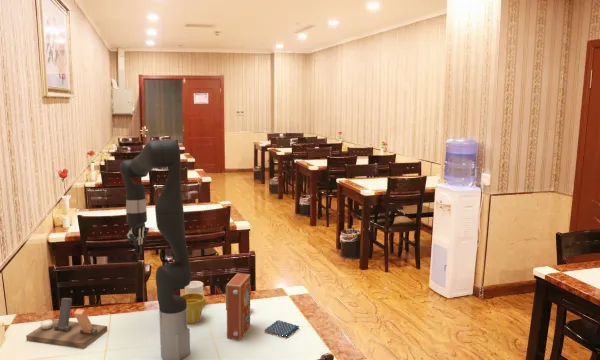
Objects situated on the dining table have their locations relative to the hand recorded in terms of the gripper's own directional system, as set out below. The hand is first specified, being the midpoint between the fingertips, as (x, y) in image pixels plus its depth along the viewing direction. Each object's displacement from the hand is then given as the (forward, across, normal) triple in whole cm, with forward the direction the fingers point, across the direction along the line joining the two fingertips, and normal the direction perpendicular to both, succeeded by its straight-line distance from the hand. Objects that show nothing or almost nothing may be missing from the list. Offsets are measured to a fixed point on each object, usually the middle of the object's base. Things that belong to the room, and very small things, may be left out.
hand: (138, 253), depth 195 cm
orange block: (+25, -18, +10) cm, 33 cm away
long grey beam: (+25, -19, +21) cm, 38 cm away
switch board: (+28, -19, +19) cm, 39 cm away
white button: (+25, -19, +28) cm, 43 cm away
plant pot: (+28, +7, -19) cm, 35 cm away
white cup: (+28, +19, -13) cm, 36 cm away
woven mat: (+30, +9, -56) cm, 64 cm away
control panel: (+29, +3, -40) cm, 50 cm away
